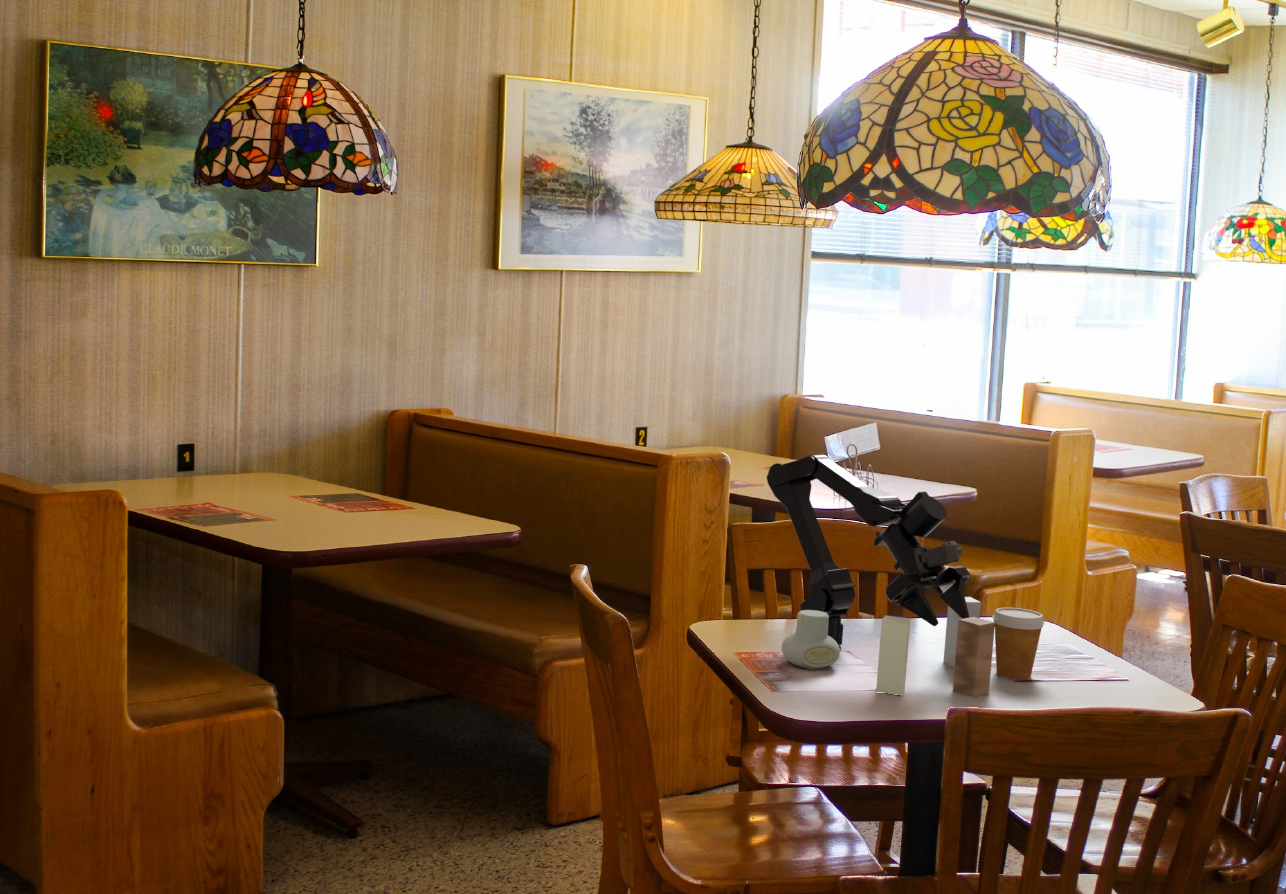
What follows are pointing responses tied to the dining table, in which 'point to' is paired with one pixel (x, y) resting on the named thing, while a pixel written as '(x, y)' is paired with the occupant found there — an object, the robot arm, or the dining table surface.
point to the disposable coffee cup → (1016, 641)
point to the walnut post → (973, 656)
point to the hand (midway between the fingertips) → (952, 622)
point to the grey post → (953, 629)
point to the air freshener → (811, 642)
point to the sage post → (893, 655)
